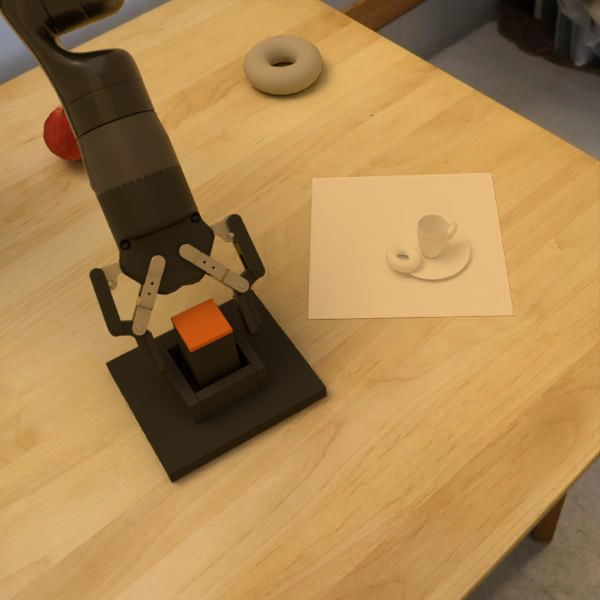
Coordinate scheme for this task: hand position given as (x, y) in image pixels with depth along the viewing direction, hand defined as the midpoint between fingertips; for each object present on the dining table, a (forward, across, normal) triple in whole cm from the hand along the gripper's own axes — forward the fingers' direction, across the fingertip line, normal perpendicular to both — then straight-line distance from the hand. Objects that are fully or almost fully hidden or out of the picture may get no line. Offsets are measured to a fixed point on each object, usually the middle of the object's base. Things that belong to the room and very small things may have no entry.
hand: (208, 352), depth 74 cm
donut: (-24, +26, +33) cm, 48 cm away
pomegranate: (-22, -2, +32) cm, 39 cm away
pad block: (+3, 0, +5) cm, 5 cm away
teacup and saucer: (-1, +25, +10) cm, 27 cm away
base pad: (+4, 0, +6) cm, 7 cm away
